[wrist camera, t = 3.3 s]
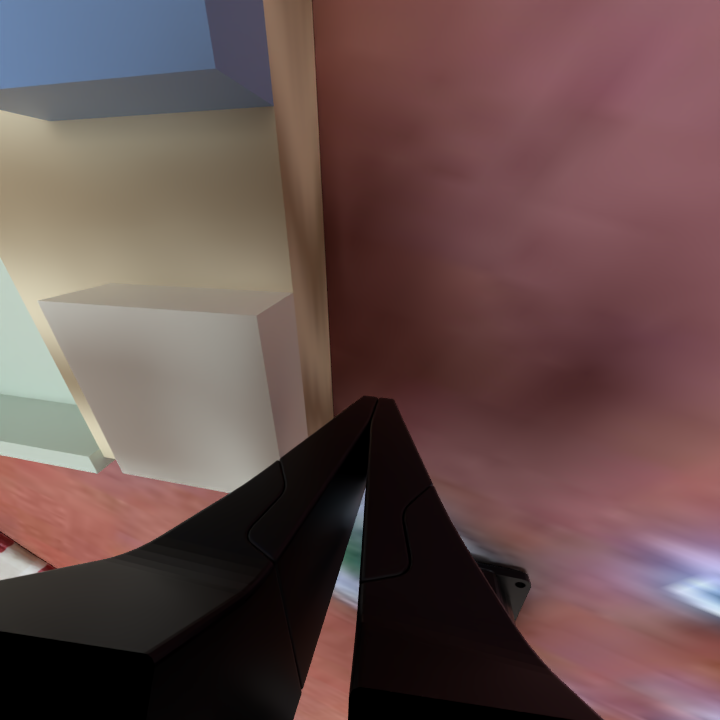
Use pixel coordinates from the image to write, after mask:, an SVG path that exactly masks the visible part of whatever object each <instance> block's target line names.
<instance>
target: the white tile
mask: <svg viewBox="0 0 720 720" xmlns="http://www.w3.org/2000/svg"><path fill="white" fill-rule="evenodd" d="M38 303H39V305H40V307H41V309H42V311H43V313H44V315H45V317H46V319H47V322H48V324H49V326H50V328H51V330H52V332H53V334H54V336H55V338H56V340H57V342H58V344H59V346H60V348H61V350H62V352H63V354H64V356H65V358H66V360H67V362H68V364H69V366H70V368H71V370H72V372H73V374H74V376H75V378H76V380H77V382H78V384H79V386H80V388H81V390H82V392H83V394H84V396H85V398H86V400H87V402H88V404H89V406H90V408H91V410H92V412H93V414H94V416H95V418H96V420H97V422H98V424H99V426H100V428H101V430H102V432H103V434H104V436H105V438H106V440H107V442H108V444H109V446H110V448H111V450H112V452H113V454H114V456H115V458H116V460H117V462H118V464H119V466H120V468H121V470H122V472H123V473H125V474H130V475H136V476H141V477H146V478H152V479H157V480H162V481H168V482H173V483H178V484H184V485H189V486H194V487H200V488H205V489H210V490H216V491H221V492H226V493H231V492H232V491H234V490H235V489H237V488H239V487H240V486H242V485H243V484H245V483H246V482H248V481H249V480H250V479H252V478H253V477H255V476H256V475H258V474H259V473H260V472H262V471H263V470H265V469H266V468H267V467H269V466H270V465H271V464H273V463H274V462H275V461H277V460H279V459H280V458H281V457H282V456H284V455H285V454H286V453H288V452H289V451H290V450H292V449H293V448H294V447H296V446H297V445H298V444H300V443H301V442H302V441H304V440H305V439H306V438H308V432H307V422H306V412H305V403H304V393H303V383H302V374H301V364H300V354H299V345H298V335H297V325H296V316H295V306H294V296H293V293H291V292H272V291H252V290H233V289H214V288H195V287H175V286H156V285H137V284H118V283H109V284H105V285H101V286H97V287H92V288H88V289H84V290H80V291H76V292H72V293H67V294H63V295H59V296H55V297H51V298H46V299H42V300H38Z"/></svg>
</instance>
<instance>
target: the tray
mask: <svg viewBox="0 0 720 720" xmlns="http://www.w3.org/2000/svg"><path fill="white" fill-rule="evenodd" d="M0 455H3V456H9V457H14V458H19V459H24V460H29V461H35V462H40V463H45V464H50V465H56V466H61V467H66V468H71V469H77V470H82V471H87V472H92V473H99V472H100V471H102V470H103V469H104V468H105V467H107V466H108V465H109V464H110V463H111V462H113V461H114V460H115V459H112V458H106V457H104V456H103V454H102V452H101V450H100V448H99V447H98V445H97V443H96V441H95V439H94V437H93V435H92V433H91V431H90V429H89V427H88V425H87V423H86V421H85V420H84V418H83V416H82V414H81V412H80V410H79V408H78V406H77V404H76V402H75V400H74V398H73V396H72V394H71V393H70V391H69V389H68V387H67V385H66V383H65V381H64V379H63V377H62V375H61V373H60V371H59V369H58V368H57V366H56V364H55V362H54V360H53V358H52V356H51V354H50V352H49V350H48V348H47V346H46V344H45V342H44V341H43V339H42V337H41V335H40V333H39V331H38V329H37V327H36V325H35V323H34V321H33V319H32V317H31V315H30V314H29V312H28V310H27V308H26V306H25V304H24V302H23V300H22V298H21V296H20V294H19V292H18V290H17V288H16V287H15V285H14V283H13V281H12V279H11V277H10V275H9V273H8V271H7V269H6V267H5V265H4V263H3V262H2V260H1V258H0Z"/></svg>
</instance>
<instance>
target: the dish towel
mask: <svg viewBox="0 0 720 720" xmlns="http://www.w3.org/2000/svg"><path fill="white" fill-rule="evenodd" d="M53 569H56V568H54V567H53V566H51V565H50V564H48V563H46V562H45V561H43V560H41V559H40V558H38V557H36V556H35V555H33V554H32V553H30V552H29V551H27V550H26V549H24V548H22V547H21V546H20V545H18V544H17V543H15V542H14V541H13V540H11V539H10V538H8V537H7V536H6V535H4V534H3V533H1V532H0V580H3V579H8V578H13V577H18V576H23V575H28V574H33V573H38V572H43V571H48V570H53Z"/></svg>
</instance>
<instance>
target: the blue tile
mask: <svg viewBox="0 0 720 720" xmlns="http://www.w3.org/2000/svg"><path fill="white" fill-rule="evenodd" d="M270 106H274V103H273V93H272V84H271V74H270V64H269V55H268V45H267V35H266V26H265V16H264V6H263V0H0V110H2V111H7V112H11V113H16V114H20V115H24V116H29V117H33V118H38V119H42V120H47V121H62V120H77V119H92V118H107V117H122V116H136V115H151V114H166V113H181V112H196V111H210V110H225V109H240V108H255V107H270Z"/></svg>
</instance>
